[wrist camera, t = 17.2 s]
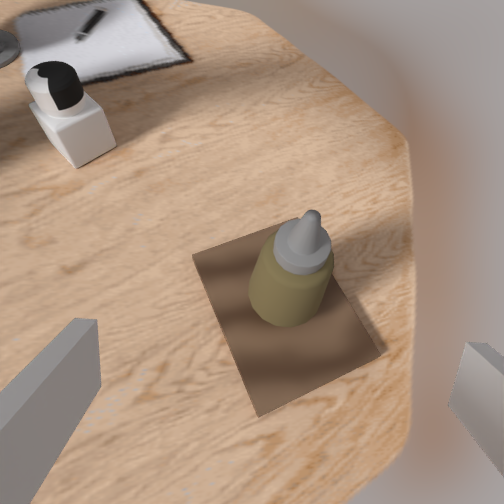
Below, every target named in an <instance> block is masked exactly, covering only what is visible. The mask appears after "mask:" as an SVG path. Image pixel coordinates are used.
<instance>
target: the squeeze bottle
mask: <svg viewBox="0 0 504 504" xmlns="http://www.w3.org/2000/svg"><path fill="white" fill-rule="evenodd" d="M333 268H334V254H333V252H332V250H331V239H330V237H329V235H328V233H327V231H326V230H325V229H324V228H323V227H321V215H320V213H319V212H318V211H316V210H308V211H307V212H306V213H305V214H304V215H303V217H302V218H301V219H294V220H290V221H288V222H286V223H285V224H283V225H282V226H281V227H280V228H279V229H278V230H277V231H275V232H274V233H272V234H271V235H270V236H268V238H267V240H266V242H265V243H264V245H263V247H262V249H261V252H260V255H259V257H258V260H257V262H256V265H255V268H254V270H253V273H252V275H251V278H250V280H249V290H248V295H249V298H250V301H251V304H252V307H253V309H254V310H255V311H256V312H257V313H258V315H259V316H260V317H261V318H262V319H263V320H265V321H267V322H269V323H271V324H273V325H275V326H281V327H295V326H298V325H301V324H304V323H306V322H307V321H308V320H310V319H311V318H312V317H313V316H314V315H315V314H316V313H317V310H318V308H319V306H320V304H321V301H322V299H323V296H324V293H325V290H326V287H327V285H328V282H329V279H330V276H331V274H332V271H333Z"/></svg>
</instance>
